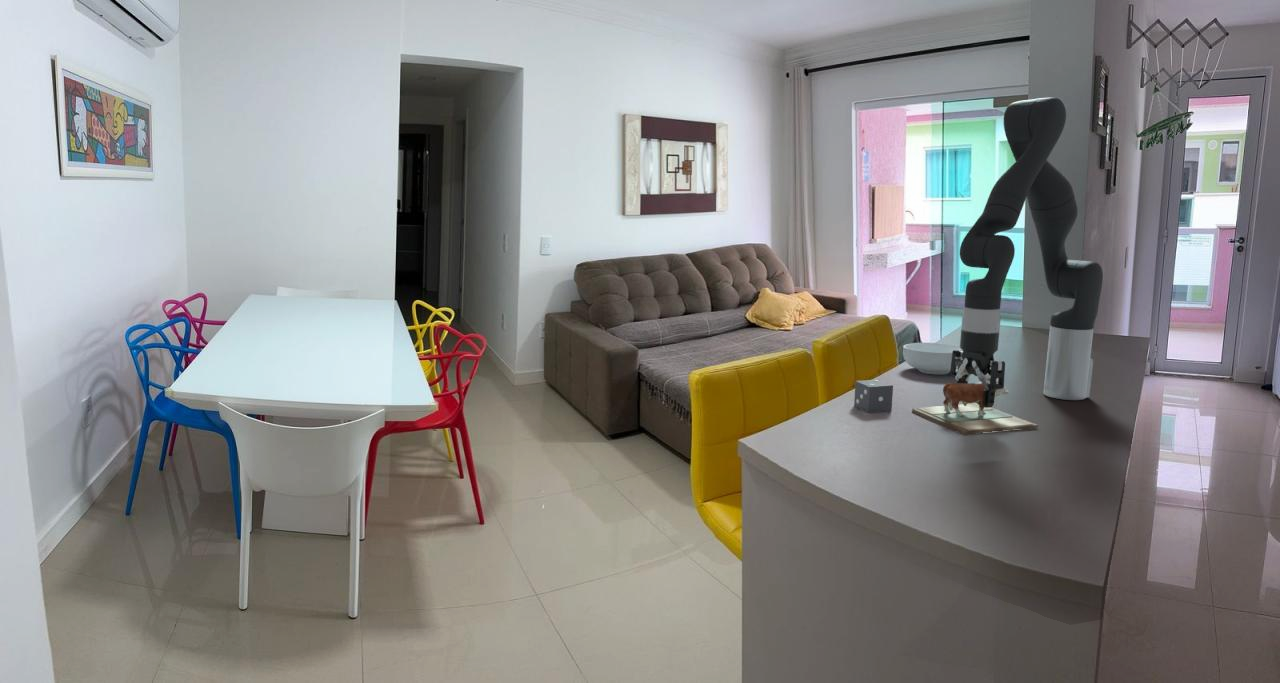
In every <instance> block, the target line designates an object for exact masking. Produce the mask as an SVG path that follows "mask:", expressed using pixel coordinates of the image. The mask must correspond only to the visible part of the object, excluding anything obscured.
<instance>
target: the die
mask: <svg viewBox="0 0 1280 683" xmlns="http://www.w3.org/2000/svg"><path fill="white" fill-rule="evenodd" d="M893 393H894V385H893V384H891V383H888V382H887V381H886V382H885V381H883V380H880V379H867V380H855V383H854V402H853V406H854V407H856V408H857V409H859V410H861V411H864V412H865V413H869V414H871V413H882V412H883V413H884V412H892V407H893Z"/></svg>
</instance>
